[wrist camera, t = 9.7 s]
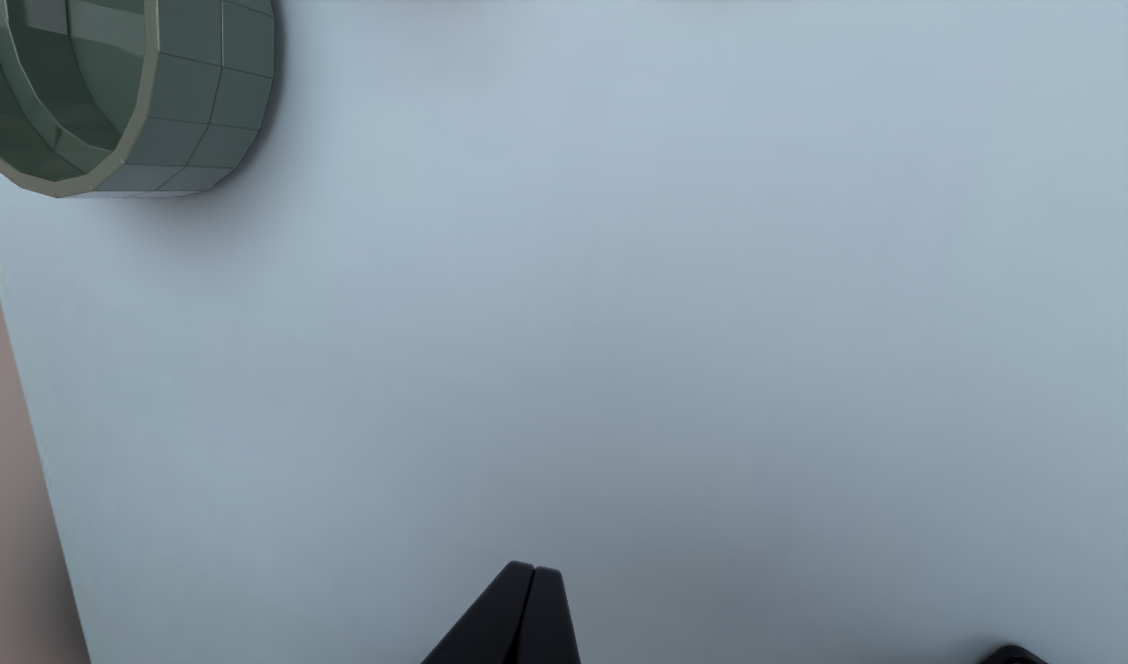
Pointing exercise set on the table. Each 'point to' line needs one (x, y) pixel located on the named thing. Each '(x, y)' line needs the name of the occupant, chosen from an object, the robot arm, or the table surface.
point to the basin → (131, 93)
